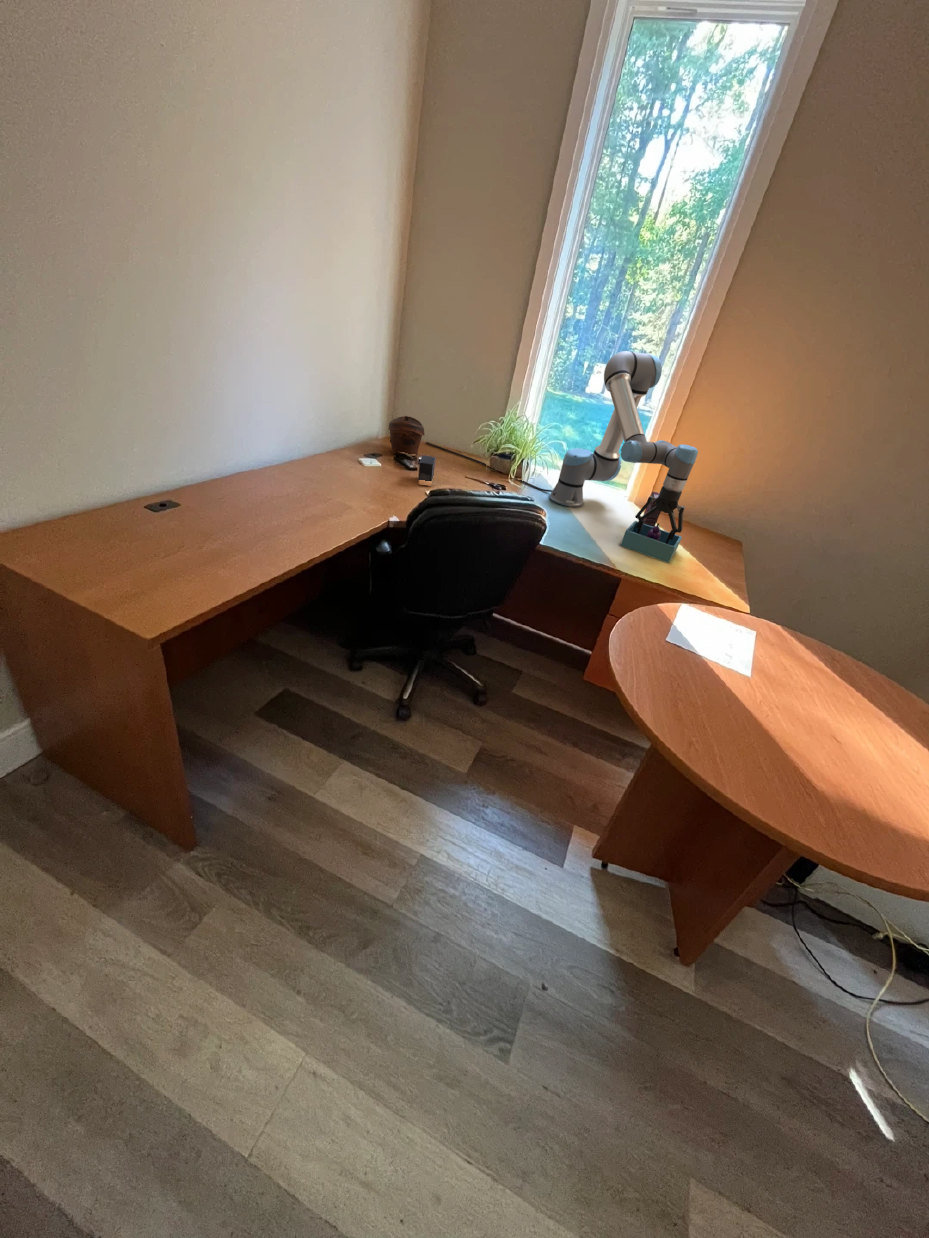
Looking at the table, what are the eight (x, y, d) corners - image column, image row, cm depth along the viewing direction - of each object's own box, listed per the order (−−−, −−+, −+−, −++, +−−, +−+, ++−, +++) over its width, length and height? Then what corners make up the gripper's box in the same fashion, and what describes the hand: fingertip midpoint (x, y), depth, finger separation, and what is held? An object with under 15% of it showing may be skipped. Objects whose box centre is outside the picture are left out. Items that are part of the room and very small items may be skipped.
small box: (419, 477, 227) (421, 454, 221) (433, 479, 228) (436, 456, 222) (416, 484, 219) (419, 461, 213) (431, 487, 219) (433, 464, 213)
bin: (620, 545, 197) (625, 530, 193) (629, 535, 207) (634, 520, 203) (668, 563, 190) (675, 547, 186) (675, 551, 200) (682, 536, 196)
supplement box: (651, 535, 211) (665, 500, 202) (640, 532, 211) (654, 497, 202) (649, 527, 218) (663, 493, 209) (639, 525, 218) (651, 491, 209)
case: (407, 446, 263) (410, 411, 253) (429, 458, 252) (433, 422, 241) (379, 449, 253) (380, 412, 242) (400, 461, 241) (403, 424, 231)
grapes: (640, 546, 197) (650, 522, 191) (644, 542, 200) (653, 519, 194) (653, 551, 195) (663, 527, 189) (657, 547, 199) (666, 523, 193)
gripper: (639, 481, 185) (620, 533, 198) (702, 500, 177) (678, 554, 189) (644, 477, 191) (625, 528, 203) (705, 495, 182) (682, 548, 195)
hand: (651, 541), depth 196 cm, fingers open, 11 cm apart
